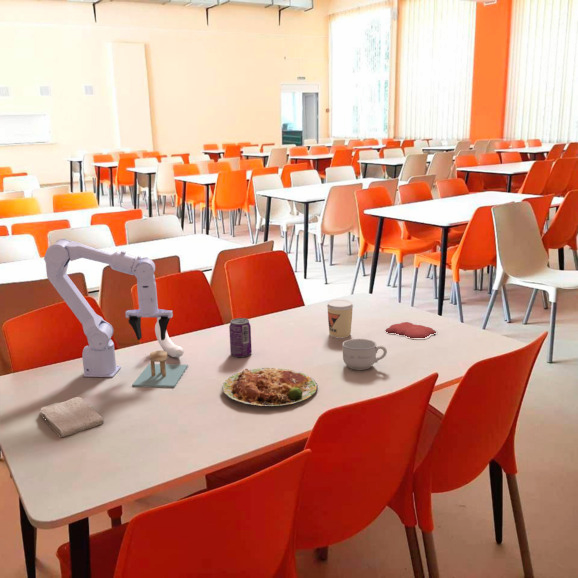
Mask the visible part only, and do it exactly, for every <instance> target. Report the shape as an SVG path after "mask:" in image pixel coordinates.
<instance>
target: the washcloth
mask: <svg viewBox="0 0 578 578" xmlns="http://www.w3.org/2000/svg"><path fill="white" fill-rule="evenodd" d="M39 414H40V416H41V417H42V416H43V417H44V419H43V420H45V419H46V420H45V421H46V422H47V423H46V422H45V421H44V422H45V423H46V424H47V425H48V424H49V425H48V426H49V427H50V428H51V429H52V430H53V431H54V433H56V434H57V435H58V437H60V438H64V437H68V436H71V435H74V434H76V433H78V432H81V431H84V430H89V429H91V428H95V427H97V426H101V425H103V424H104V423H105V421H104V418H103V416H101V414H99V413H98V412H97V411H96V410H95V409H94V408H93V407H92V406H90V405H89V404H88V403H87V402H86V401H85V400H84V399H83V398H81V397H80V396H76V397H72V398H70V399H67V400H66V401H62V402H55V403H51V404H49V405H45V406H43V407H41V408H40V411H39ZM43 417H42V418H43ZM94 426H95V427H94Z"/></svg>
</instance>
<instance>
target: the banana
mask: <svg viewBox="0 0 578 578" xmlns="http://www.w3.org/2000/svg"><path fill="white" fill-rule="evenodd" d="M155 318H156V323H155V325H154V332H155V336H156V340H157V342H158V344H159V346H160V347H161V349H162V351H166V352H167V356H170V357H172V358H180V357H182V356H183V355H184V352H185V351H184V348H183V347H181V345H176V344H175V343H174V342H173V341H172V339H171V338H170V336H169V334H168V333H169V332H168V330H167V329H166V334H165V339H164V340H161V331H160V325H159V322H158V320H159V319H161V317H155Z"/></svg>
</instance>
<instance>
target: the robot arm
mask: <svg viewBox="0 0 578 578" xmlns="http://www.w3.org/2000/svg"><path fill="white" fill-rule="evenodd" d="M79 259H85V260H90V261H94V262H98V263H103V264H106V265H109V267H110V268H111V270H114V271H115V272H116V271H117V272H119V273H124V274H127V275H131V276H135V278H136V288H137V301H138V309H128V310H126V311H125V319H128V321H127V322H128V324H129V325H130V327H131V328H132V330H133V332H134V333H135V336H136V339H137V341H138V340H139V341H140V340H141V339H142V338H143V334H142V327H141V326H142V323H141V320H142V319H141V318H156V317H161V319H159V320H158V322H159V325H160V331H161V340H164V339H165V334H166V330H167V328H168V324H169V323H170V320H171V318H173V316H174V313H173V310H167V309H162V308H161V309H160V308H159V305H158V304H159V303H158V295H157V294H158V291H157V282H156V277H155V272H156V263H155V262H154V261H153V260H152V259H151V258H149V257H147V256H146V257H142V256H140V255H138V256H135V255H131V254H127V252H126V251H125V250H121V251H115V252H113V253H110V252H108V251H105V250H102V249H99V248H95V247H92V246H89V245H87V244H85V243H81V242H79V241H76V240H69V239H67V238H61V239H58V240H56V242H55V243H54V244H51V245H50V246H48V247H47V249H46V251H45V255H44V258H43V260H44V262H45V269H46V270H45V271H46V278H47V279H48V281H49V282H50V283H51V285H52V286H53V288H54V289H55V290H56V292H57V294H59V296H60V297H61V298H62V300H63V301H64V302H65V303H66V305H67V306H68V308H69V309H70V310H71V312H72V313H73V315H74V316H75V317H76V318H77V320H78V321H79V322H80V324H81V325H82V329H83V333H84V335H85V337H86V339H87V343H88V345H86V346H84V348H83V349H82V353H81V355H82V367H83V377H84V378H85V377H87V378H88V377H91V378H93V377H95V378H112V377H114V376H115V375H116V374H117V373H118V371H120V369H121V368H122V366H121V365H117V363H116V361H117V360H116V354H115V353H116V352H115V342H114V341H113V340H112V339H111V338H112V337H113V335H114V327H113V326H112V324H111V323H109V322H107V321H106V320H104V318H103V316H100V315H99V314H97V313H96V312H95V310H94V308H92V306H91V305H90V303H89V302H88V300H86V298H85V297H84V295H83V294H82V293H81V291H80V289H78V287H77V286H76V284H75V283H74V281H72V279H71V278H70V276H69V275H68V274H67V271H68V268H69V264H70V263H69V262H73V261H76V260H79Z"/></svg>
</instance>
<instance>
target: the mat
mask: <svg viewBox="0 0 578 578" xmlns="http://www.w3.org/2000/svg"><path fill="white" fill-rule="evenodd" d="M165 367H166V376H165V377H162V373H161V371H160V363H155V374H156V375H155V376H152V373H151V363H148V364H147V366H146V367H145V368H144V370H143V371H142V372H141V373H140V374H139V375H138V377H137V379H136V380H134V382H133V383H132V387H133V388H134V387H135V388H137V387H138V388H139V387H140V388H141V387H144V388H145V387H147V388H176V386H177V385H178V383H179V382H178V381H180V380H181V379H182V377H183V376H184V374H183V373H185V372H186V371H185V370H187V369H188V368H189V364H178V363H177V364H176V363H175V364H173V363H172V364H169V363H165ZM181 376H182V377H181ZM176 384H177V385H176Z"/></svg>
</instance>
